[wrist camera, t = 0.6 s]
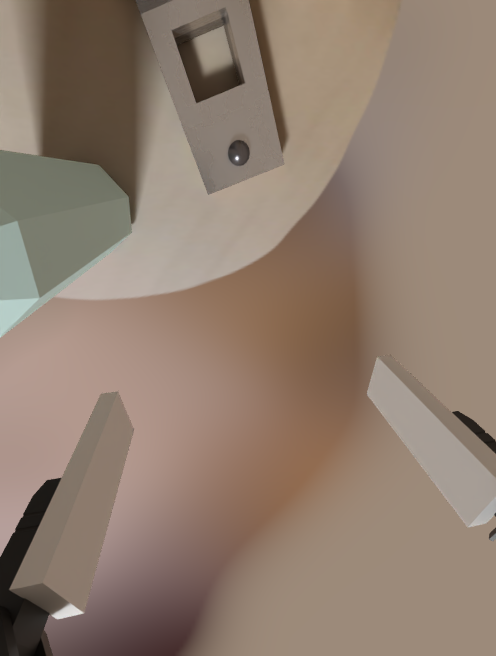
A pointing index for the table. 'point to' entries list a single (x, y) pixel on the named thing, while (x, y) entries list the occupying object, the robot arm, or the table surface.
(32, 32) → the table surface
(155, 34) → the chain ends
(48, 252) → the water bottle
